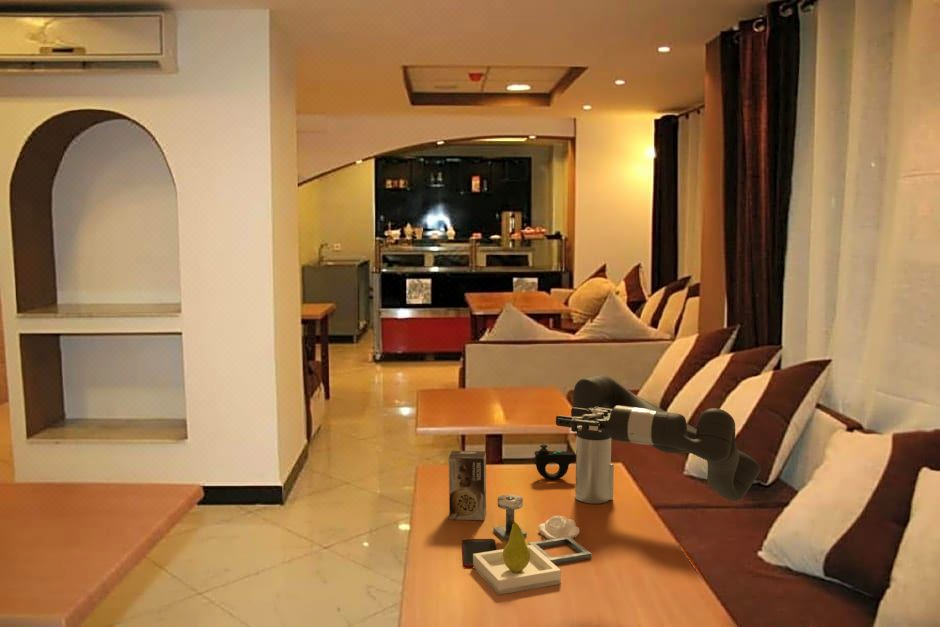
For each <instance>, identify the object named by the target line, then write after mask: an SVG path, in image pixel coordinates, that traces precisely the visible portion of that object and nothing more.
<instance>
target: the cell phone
mask: <svg viewBox="0 0 940 627" xmlns="http://www.w3.org/2000/svg"><path fill="white" fill-rule="evenodd" d="M461 545H462V546H461V548H462V549H461V550H462V551H461V552H462V566H463V568H464V567H465V569H474V568H473V567H474V565H473V554H476V553H482V552H489V551H495V550H498V549H497V544H496V540H495V539H494V538H465V539H464V538H463V539H462V541H461Z"/></svg>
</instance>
